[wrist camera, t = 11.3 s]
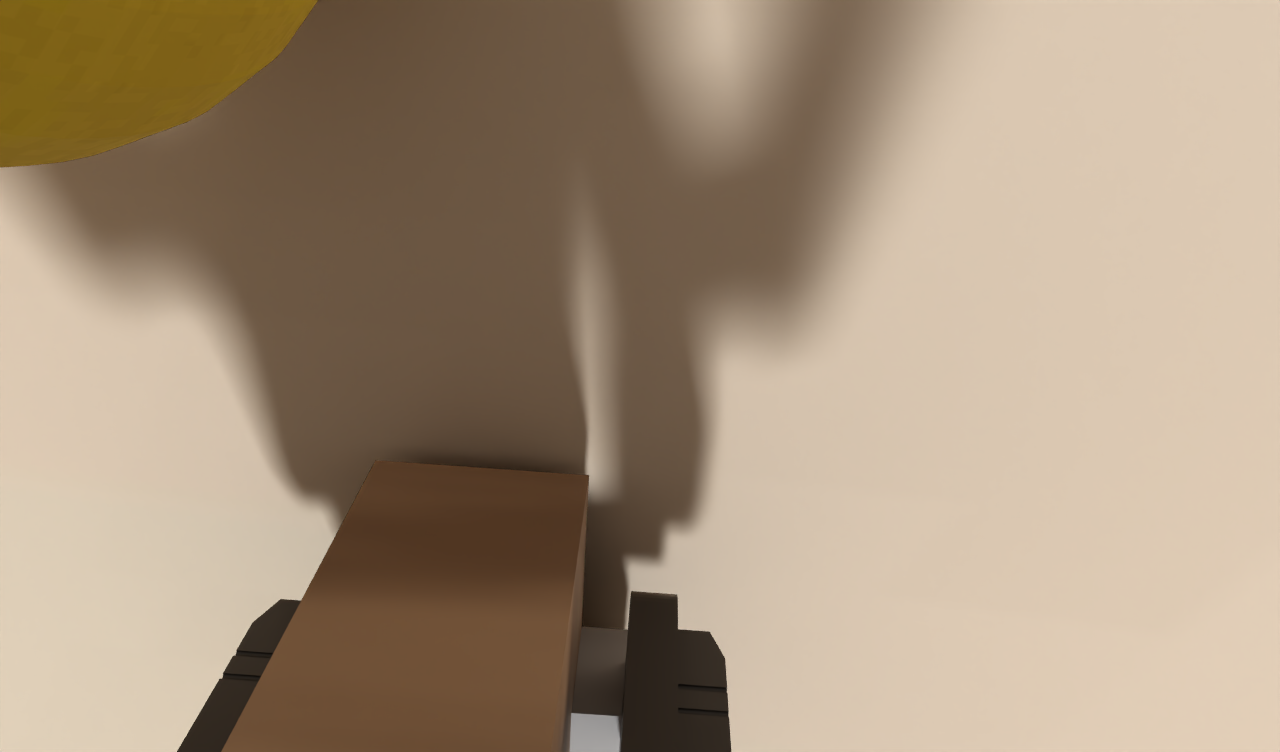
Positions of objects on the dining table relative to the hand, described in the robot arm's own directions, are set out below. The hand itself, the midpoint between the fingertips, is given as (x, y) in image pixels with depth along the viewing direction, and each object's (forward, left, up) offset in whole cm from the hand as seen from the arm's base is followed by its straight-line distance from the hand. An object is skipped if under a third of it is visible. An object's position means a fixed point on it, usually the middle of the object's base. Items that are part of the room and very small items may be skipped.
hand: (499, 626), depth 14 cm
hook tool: (+3, -1, -1) cm, 4 cm away
